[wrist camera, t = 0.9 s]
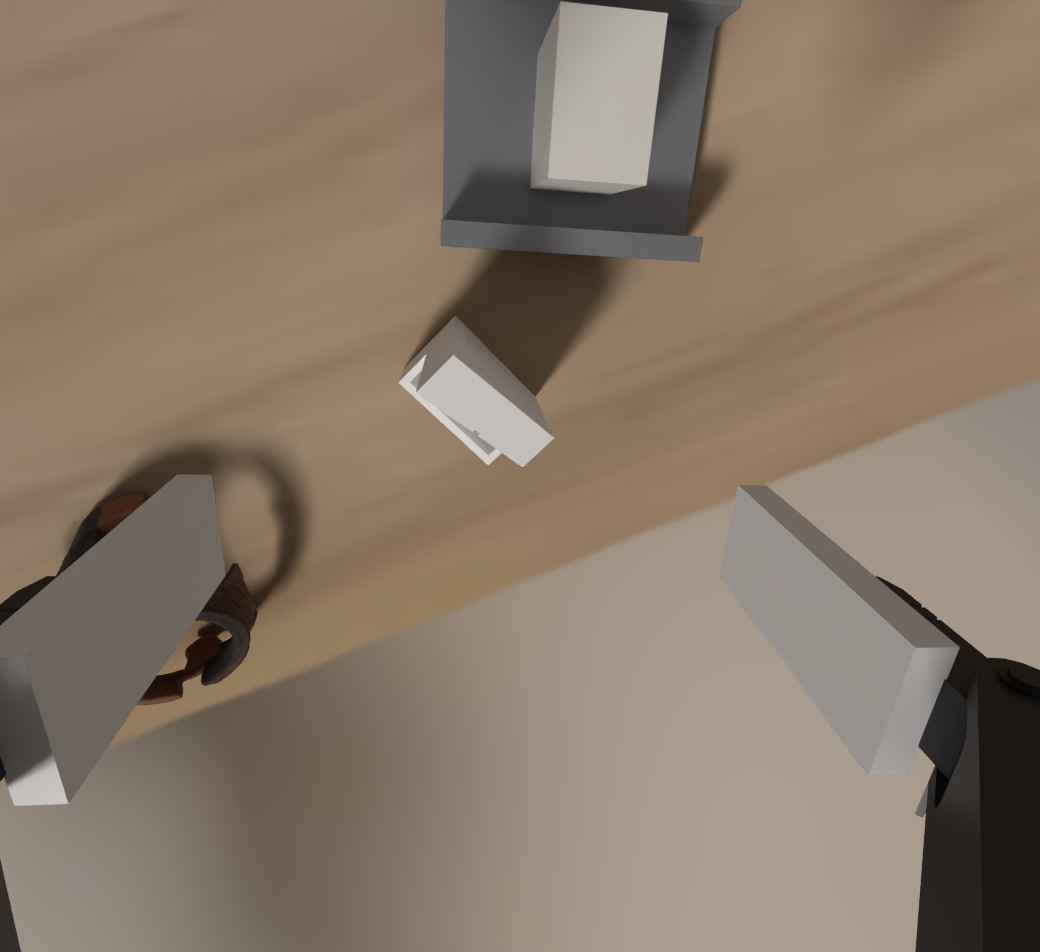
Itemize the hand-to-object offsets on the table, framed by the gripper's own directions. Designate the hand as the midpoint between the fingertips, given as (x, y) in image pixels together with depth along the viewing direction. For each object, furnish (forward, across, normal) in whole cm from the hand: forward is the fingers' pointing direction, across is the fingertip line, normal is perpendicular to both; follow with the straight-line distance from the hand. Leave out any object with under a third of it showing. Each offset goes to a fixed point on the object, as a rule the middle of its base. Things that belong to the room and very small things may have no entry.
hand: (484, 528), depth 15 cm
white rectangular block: (+15, +4, +11) cm, 19 cm away
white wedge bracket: (+17, 0, 0) cm, 17 cm away
